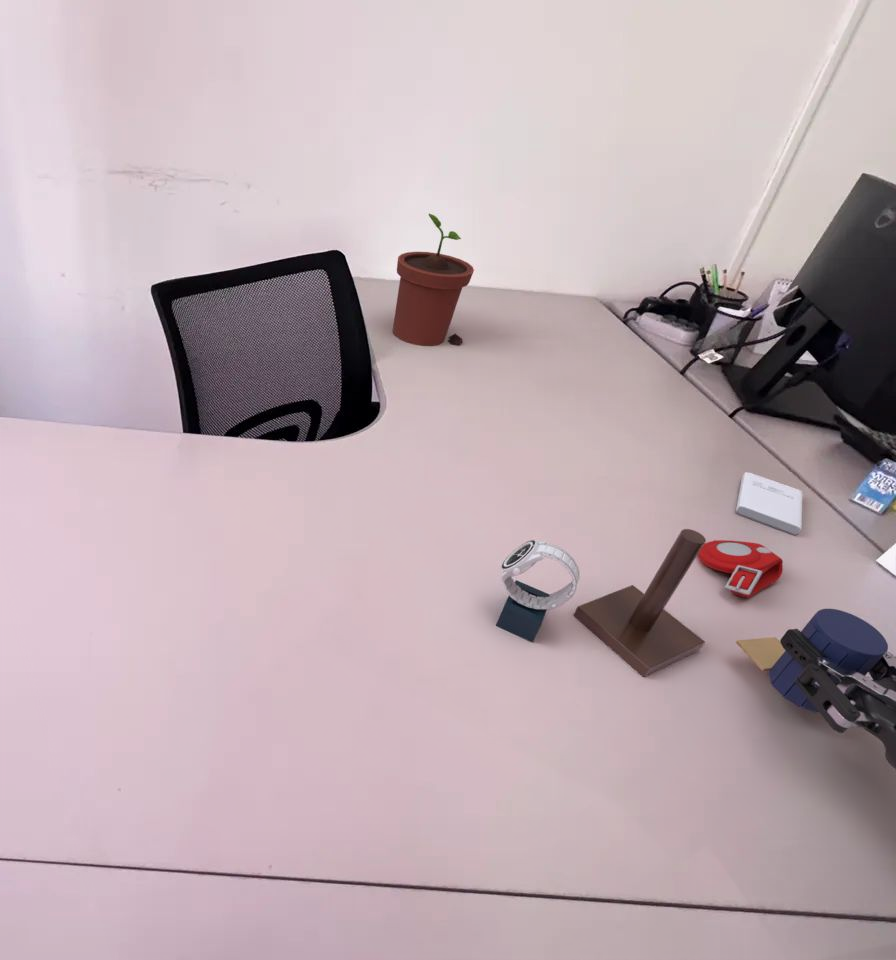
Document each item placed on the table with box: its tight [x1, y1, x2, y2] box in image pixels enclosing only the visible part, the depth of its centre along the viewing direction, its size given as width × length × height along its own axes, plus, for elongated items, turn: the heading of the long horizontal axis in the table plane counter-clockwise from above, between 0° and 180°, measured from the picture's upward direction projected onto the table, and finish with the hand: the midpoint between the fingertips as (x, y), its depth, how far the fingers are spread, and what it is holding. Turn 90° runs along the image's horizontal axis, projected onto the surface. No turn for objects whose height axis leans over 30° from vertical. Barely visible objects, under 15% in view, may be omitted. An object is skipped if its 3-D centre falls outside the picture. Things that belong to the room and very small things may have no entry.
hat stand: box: [573, 528, 707, 678], centre depth 76 cm, size 10×10×15 cm
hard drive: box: [735, 471, 803, 536], centre depth 105 cm, size 2×8×12 cm
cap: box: [735, 608, 889, 714], centre depth 70 cm, size 10×6×9 cm, turn 9°
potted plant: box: [392, 213, 475, 347], centre depth 144 cm, size 18×22×25 cm
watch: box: [495, 539, 580, 643], centre depth 77 cm, size 6×8×11 cm
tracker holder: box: [697, 539, 784, 599], centre depth 89 cm, size 12×4×10 cm
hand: (813, 632), depth 70 cm, fingers closed on cap, 6 cm apart
